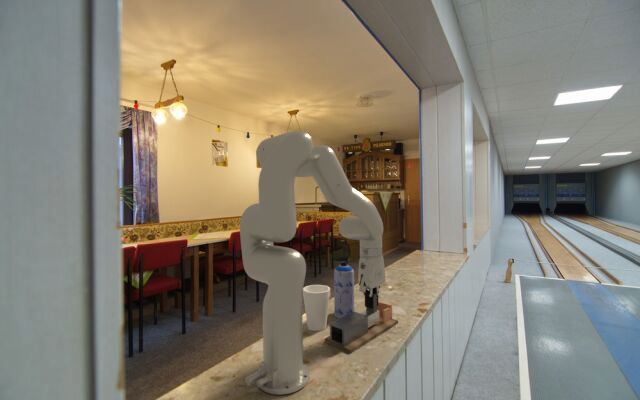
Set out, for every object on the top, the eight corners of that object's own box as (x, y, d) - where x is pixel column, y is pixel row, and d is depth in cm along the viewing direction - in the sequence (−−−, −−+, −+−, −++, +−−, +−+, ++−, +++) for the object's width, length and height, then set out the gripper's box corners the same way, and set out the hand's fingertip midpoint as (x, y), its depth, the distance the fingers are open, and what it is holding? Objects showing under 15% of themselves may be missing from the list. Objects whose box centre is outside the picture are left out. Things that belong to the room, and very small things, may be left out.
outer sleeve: (344, 347, 82) (343, 328, 82) (330, 340, 86) (329, 322, 86) (368, 332, 91) (367, 315, 91) (354, 327, 94) (354, 311, 94)
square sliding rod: (351, 337, 86) (350, 305, 86) (341, 333, 88) (341, 302, 88) (379, 321, 97) (379, 292, 97) (370, 318, 100) (370, 290, 100)
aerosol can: (358, 313, 109) (358, 261, 109) (347, 320, 103) (346, 264, 103) (341, 309, 114) (341, 258, 114) (329, 315, 108) (329, 262, 108)
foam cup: (299, 323, 100) (299, 286, 100) (323, 319, 104) (323, 283, 104) (309, 335, 92) (308, 294, 92) (335, 329, 95) (334, 290, 95)
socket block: (384, 323, 98) (384, 308, 98) (371, 318, 102) (371, 304, 102) (392, 318, 101) (391, 304, 101) (378, 314, 105) (378, 301, 105)
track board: (350, 353, 80) (350, 349, 80) (324, 341, 87) (324, 338, 87) (398, 323, 100) (398, 320, 100) (373, 315, 107) (373, 313, 107)
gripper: (366, 256, 89) (367, 316, 89) (392, 250, 100) (393, 303, 100) (347, 254, 94) (348, 310, 94) (374, 248, 106) (375, 298, 105)
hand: (371, 306), depth 97 cm, fingers closed on square sliding rod, 2 cm apart
